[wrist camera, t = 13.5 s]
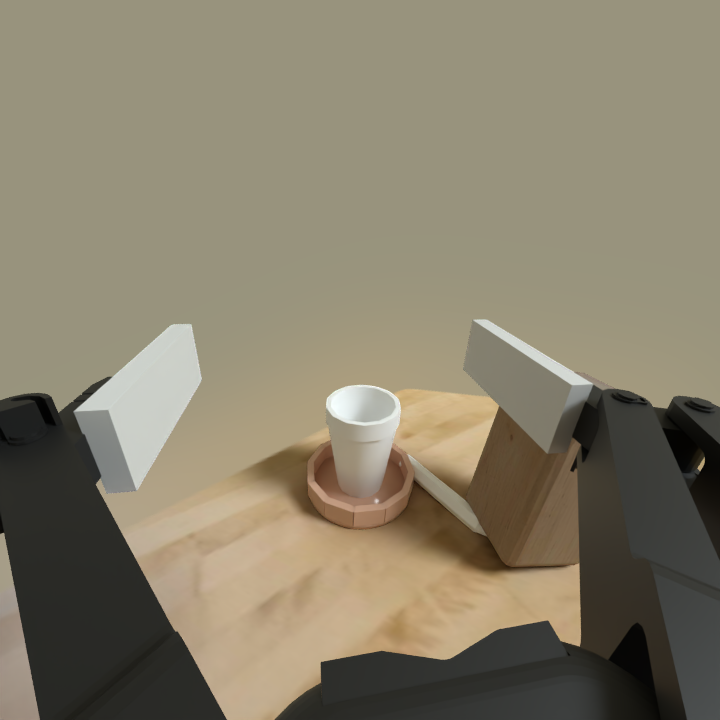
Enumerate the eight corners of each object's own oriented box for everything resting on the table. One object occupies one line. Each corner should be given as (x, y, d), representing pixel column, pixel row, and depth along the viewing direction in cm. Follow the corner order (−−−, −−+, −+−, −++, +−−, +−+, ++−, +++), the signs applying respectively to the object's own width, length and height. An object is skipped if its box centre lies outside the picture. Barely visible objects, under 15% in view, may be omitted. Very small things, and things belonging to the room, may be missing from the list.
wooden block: (461, 499, 43) (511, 361, 36) (525, 500, 45) (584, 370, 38) (503, 571, 34) (581, 405, 27) (582, 569, 36) (672, 413, 29)
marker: (494, 553, 39) (400, 469, 49) (504, 540, 39) (409, 460, 50) (496, 545, 37) (398, 460, 48) (506, 531, 38) (408, 451, 48)
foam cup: (381, 453, 51) (387, 382, 46) (402, 500, 43) (412, 419, 38) (322, 462, 49) (320, 388, 44) (332, 513, 41) (332, 429, 35)
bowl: (308, 536, 39) (307, 517, 37) (307, 453, 52) (307, 437, 50) (425, 522, 41) (428, 504, 40) (395, 446, 54) (397, 431, 53)
